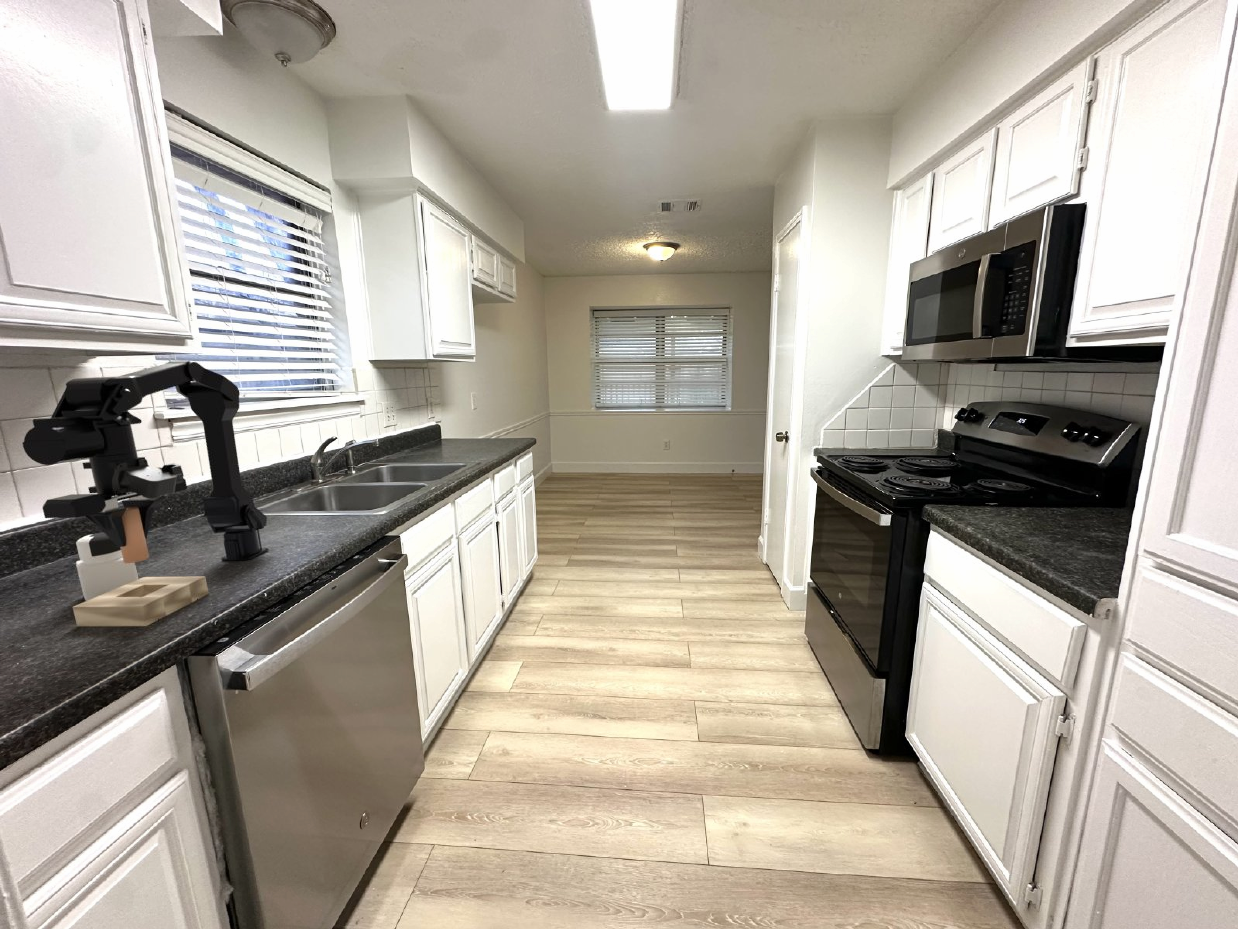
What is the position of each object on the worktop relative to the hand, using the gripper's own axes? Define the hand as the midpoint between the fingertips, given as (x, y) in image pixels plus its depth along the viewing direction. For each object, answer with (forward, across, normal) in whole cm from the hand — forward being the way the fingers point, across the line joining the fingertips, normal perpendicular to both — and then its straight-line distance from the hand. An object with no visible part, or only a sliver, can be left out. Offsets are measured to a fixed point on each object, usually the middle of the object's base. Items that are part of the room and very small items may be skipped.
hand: (132, 543), depth 86 cm
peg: (+3, 0, 0) cm, 3 cm away
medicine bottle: (+12, +6, +13) cm, 19 cm away
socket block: (+12, 0, 0) cm, 12 cm away
